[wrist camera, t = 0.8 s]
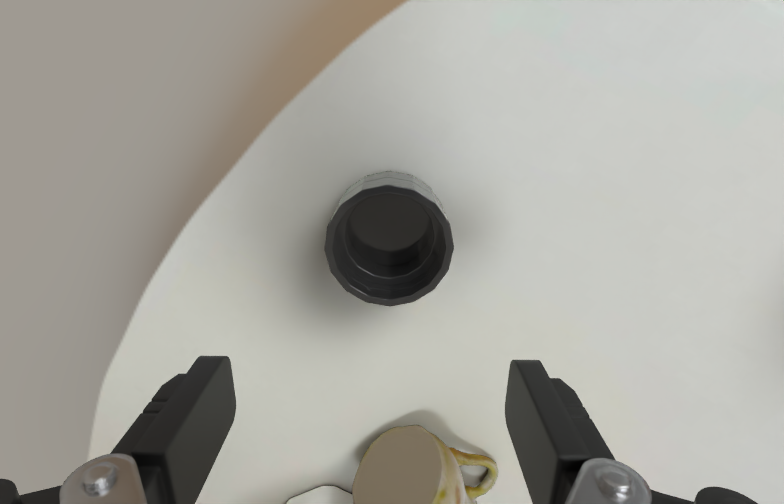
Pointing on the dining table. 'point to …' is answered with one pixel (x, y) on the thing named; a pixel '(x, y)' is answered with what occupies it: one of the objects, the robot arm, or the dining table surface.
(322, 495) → the cup
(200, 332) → the dining table surface
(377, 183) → the black bowl
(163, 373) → the dining table surface
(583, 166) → the dining table surface
